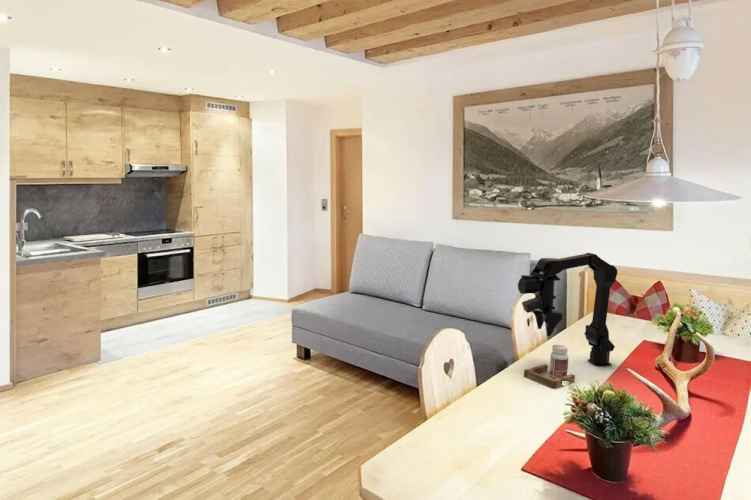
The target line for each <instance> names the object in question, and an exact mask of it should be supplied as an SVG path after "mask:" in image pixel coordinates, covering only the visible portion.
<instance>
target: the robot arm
mask: <svg viewBox="0 0 751 500" xmlns="http://www.w3.org/2000/svg"><path fill="white" fill-rule="evenodd" d="M585 266H588V268H589V269H591V270H592V271H593V273H592V274H593V280H594V283H595V285H596V288H595V296H594V303H593V313H592V320H591V323H590V324H589V325H588V324H586V325H585V332H584V333H583V334H584V335H585V339H586V340H587V342H588V345H589V346H591V347H590V349H591V351H589V359H587V362H589V363H591V364H593V365H595V366H597V367H604V366H605V367H606V366H612V363H611V362H610V356H611V355H610V354H611V352H613V351H614V349H615V345H614V343H613V342H612V341H611V340H610V331H609V329H608V326H607V318H608V309H609V303H610V301H609V300H610V294H611V287H612V286H613V285H614V284H615V282H616V279H617V276H618V269H617V267H616V266H615V265H613V264H610V263H608V262H607V261H605V260H603V259H602V258H601V257H599V256H598V255H597V254H596V253H593V252H592V253H591V252H585V253H582V254H578V255H577V254H576V255H573V256H567V257H562V258H554V257H553V258H552V257H541V258H540V259H538V261H537V264H536V265H535V267H533V269H532V270H531V272H530V274H528V275H526V274H522V275H521V277H520V279H519V280H518V283H517V288H518V292H519V293H520V294H521V295H524V294H527V295H528V294H535V295H534V298H528V299H527V300H523V301H522V302H521V305H522V309H523V310H524V311H525V312H526V313H527V314H529V313H532V314H534V316H535V322H536V326H537V329H538V330H542V327H543V325H544V323H545V330H546V336H547V337H551V336H552V334H553V332H554V330H555V329H556V327H557V326H558V324H559V323H560V322H561V321H563V314H562V312H560V311H558V310H556V306H554V302H555V301H554V300H556V298H557V296H556V295H555V281H556V282H557V281H561V278H560V277H559V276H558V274H560V273H561V272H562V271H565V270H569V269H574V268H578V267H585Z"/></svg>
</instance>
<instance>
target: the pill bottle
mask: <svg viewBox="0 0 751 500" xmlns="http://www.w3.org/2000/svg"><path fill="white" fill-rule="evenodd" d="M551 351H552V352H551V353H550V357H549V359H550V360H549V376H550V378H552V379H557V378H560V377H563V376H567V375H568V368H569V355H568V347H567V346H566V345H564V344H553V345H552V349H551Z"/></svg>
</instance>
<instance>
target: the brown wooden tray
mask: <svg viewBox="0 0 751 500" xmlns="http://www.w3.org/2000/svg"><path fill="white" fill-rule="evenodd" d="M548 371H549V365H548V364H546V363H544V364H541V365H538V366H534V367H530V368H528V369H523V377H524V378H526V379H529V380H530V381H531V380H532V381H534V382H536V383H539V384H541V385H543V386H545V387H548V388H551V389H553V390H554V389H558V388H560V387H561V388H562V387H564V386H563V385H562V381H568V382H570V384H573V383H575V379H576V376H575V375H574V374H573V373H569V374H567V376H563V377H560V378H557V379H555V378H551V377H547V376H546V375H543V374H545V373H548Z"/></svg>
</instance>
